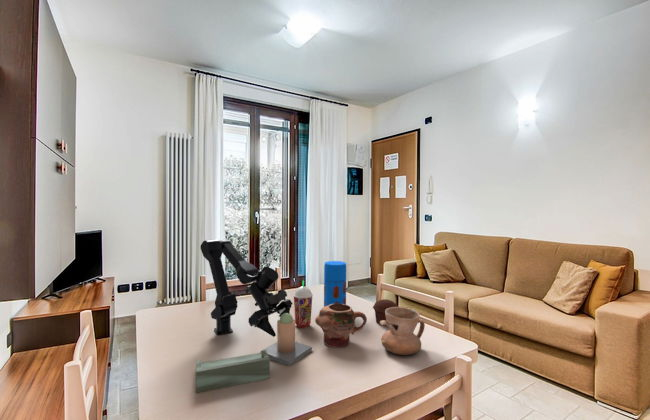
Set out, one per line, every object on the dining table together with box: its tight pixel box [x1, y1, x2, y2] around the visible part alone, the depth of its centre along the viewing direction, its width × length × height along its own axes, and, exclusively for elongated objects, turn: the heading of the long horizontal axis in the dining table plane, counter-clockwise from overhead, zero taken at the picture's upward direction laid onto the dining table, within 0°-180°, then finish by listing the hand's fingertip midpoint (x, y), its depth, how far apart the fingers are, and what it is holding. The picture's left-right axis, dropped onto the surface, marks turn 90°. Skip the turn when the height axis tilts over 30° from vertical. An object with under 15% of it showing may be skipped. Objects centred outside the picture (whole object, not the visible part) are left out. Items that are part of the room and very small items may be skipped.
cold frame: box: [195, 349, 271, 394], centre depth 99 cm, size 13×21×6 cm, turn 112°
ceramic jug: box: [379, 306, 425, 356], centre depth 116 cm, size 18×14×14 cm
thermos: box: [323, 260, 347, 307], centre depth 153 cm, size 11×11×25 cm
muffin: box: [372, 298, 399, 327], centre depth 143 cm, size 12×11×10 cm
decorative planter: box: [314, 303, 368, 348], centre depth 122 cm, size 20×12×14 cm, turn 97°
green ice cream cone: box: [276, 313, 296, 353], centre depth 113 cm, size 6×6×13 cm
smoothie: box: [293, 280, 313, 329], centre depth 139 cm, size 8×8×20 cm
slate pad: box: [259, 341, 313, 367], centre depth 113 cm, size 13×13×2 cm
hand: (283, 331), depth 114 cm, fingers open, 9 cm apart
